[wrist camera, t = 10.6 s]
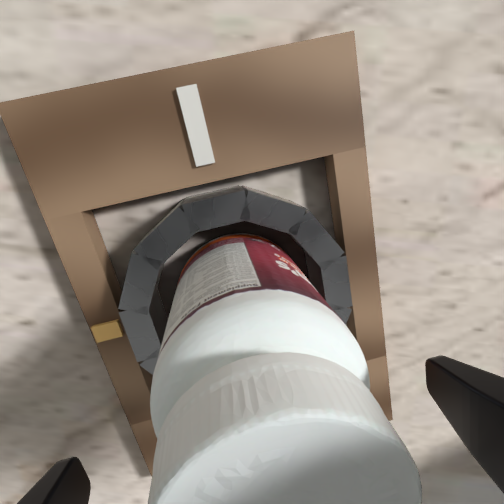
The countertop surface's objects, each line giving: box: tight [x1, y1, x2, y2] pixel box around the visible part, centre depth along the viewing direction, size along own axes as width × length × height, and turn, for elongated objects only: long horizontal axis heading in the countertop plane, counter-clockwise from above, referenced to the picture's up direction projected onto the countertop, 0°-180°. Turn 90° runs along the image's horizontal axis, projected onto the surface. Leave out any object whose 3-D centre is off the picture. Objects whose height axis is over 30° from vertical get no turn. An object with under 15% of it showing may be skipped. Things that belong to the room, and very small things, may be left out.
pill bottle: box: [148, 233, 422, 504], centre depth 11 cm, size 6×6×11 cm
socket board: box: [0, 31, 393, 476], centre depth 15 cm, size 20×14×2 cm
